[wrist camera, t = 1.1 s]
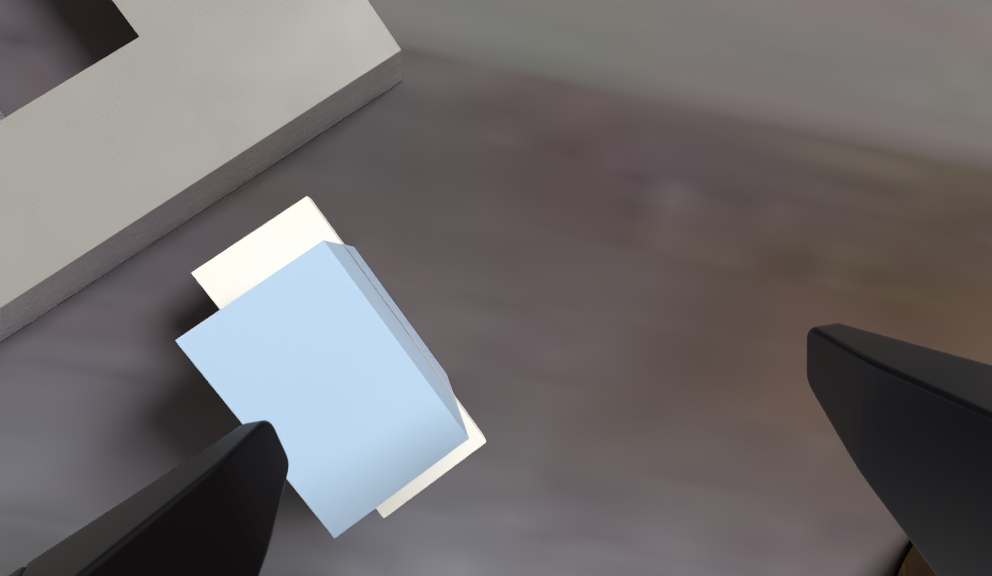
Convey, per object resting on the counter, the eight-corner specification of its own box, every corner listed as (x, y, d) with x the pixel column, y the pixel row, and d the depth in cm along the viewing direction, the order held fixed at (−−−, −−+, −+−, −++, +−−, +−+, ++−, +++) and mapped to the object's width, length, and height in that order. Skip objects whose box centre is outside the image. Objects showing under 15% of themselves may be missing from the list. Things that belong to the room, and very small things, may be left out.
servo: (387, 473, 21) (377, 591, 13) (226, 264, 19) (116, 268, 12) (472, 410, 21) (508, 491, 14) (321, 201, 20) (270, 168, 12)
